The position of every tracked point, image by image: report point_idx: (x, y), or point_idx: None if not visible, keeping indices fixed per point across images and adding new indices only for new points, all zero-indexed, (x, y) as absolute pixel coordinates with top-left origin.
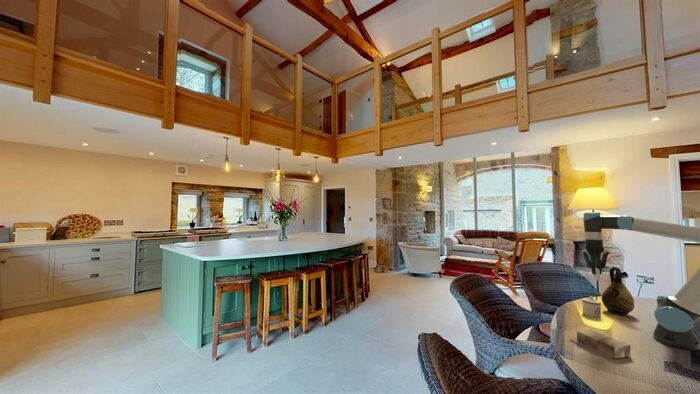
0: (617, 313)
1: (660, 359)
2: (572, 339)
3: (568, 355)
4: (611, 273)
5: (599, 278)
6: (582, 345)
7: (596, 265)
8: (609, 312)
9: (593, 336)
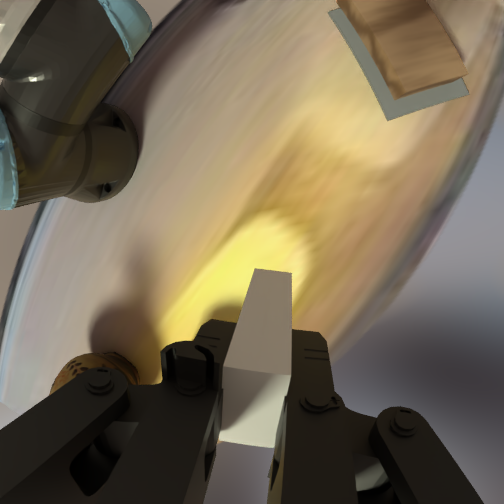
0: (123, 361)
1: (248, 6)
2: (460, 94)
3: (499, 19)
4: None
5: (258, 282)
6: None
7: (208, 482)
8: (138, 376)
9: (433, 32)
